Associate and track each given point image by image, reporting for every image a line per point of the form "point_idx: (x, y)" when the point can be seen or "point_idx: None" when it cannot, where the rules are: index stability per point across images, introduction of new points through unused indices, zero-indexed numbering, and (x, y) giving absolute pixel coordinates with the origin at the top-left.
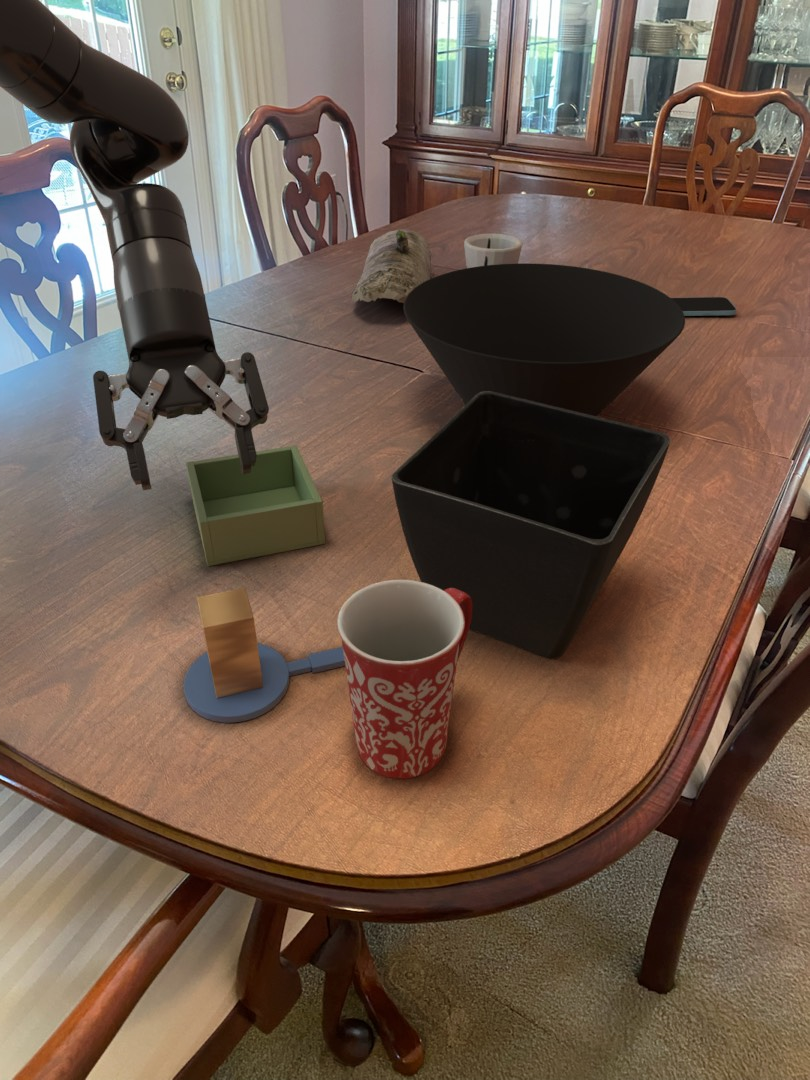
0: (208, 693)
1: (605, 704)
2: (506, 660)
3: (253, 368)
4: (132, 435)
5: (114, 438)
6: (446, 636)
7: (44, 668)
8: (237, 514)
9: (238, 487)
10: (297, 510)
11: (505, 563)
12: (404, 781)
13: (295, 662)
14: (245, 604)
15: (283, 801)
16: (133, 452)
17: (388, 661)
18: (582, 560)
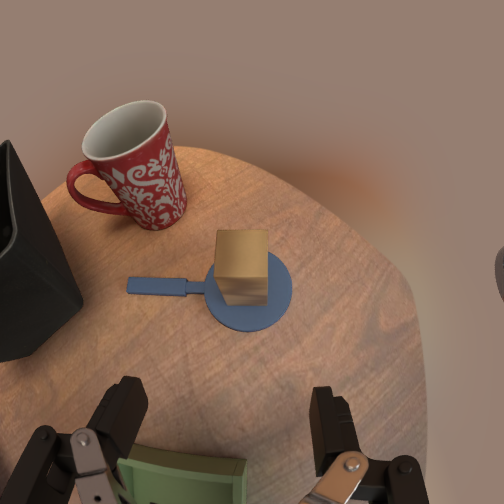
0: (273, 276)
1: (62, 206)
2: (75, 249)
3: (7, 500)
4: (347, 461)
5: (384, 465)
6: (102, 153)
7: (399, 351)
8: (194, 475)
9: None
10: (129, 456)
11: (31, 201)
12: None
13: (196, 290)
14: (219, 249)
15: (240, 188)
16: (343, 441)
17: (152, 101)
18: (16, 154)
